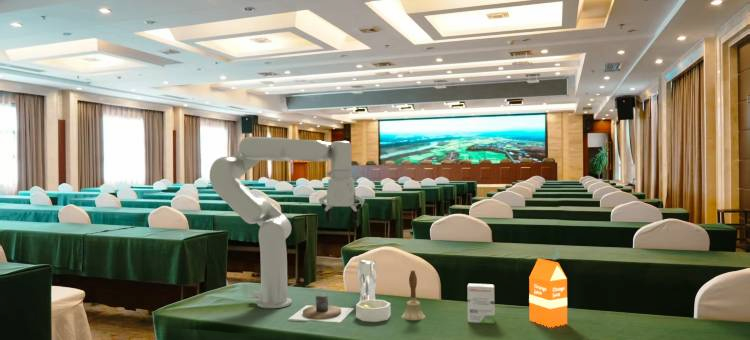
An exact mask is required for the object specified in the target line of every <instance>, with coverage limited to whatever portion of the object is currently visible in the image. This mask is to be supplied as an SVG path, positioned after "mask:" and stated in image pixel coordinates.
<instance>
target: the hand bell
mask: <svg viewBox="0 0 750 340" xmlns="http://www.w3.org/2000/svg"><path fill="white" fill-rule="evenodd" d="M408 283H409V287H410V300H408V301H407V302H406V306H405V307H406V308H405V310H404V312H403V314H402V315H401V318H402V319H404V320H408V321H420V320H424V319H425V318H426V315H425V314H424V313H423V311H422V307H421V302H420V301H418V300H417V295H416V294H417V293H416V291H417V290H416V289H417V285H418V284H417V283H418V278H417V274H416V271H415V270H410V274H409V278H408Z"/></svg>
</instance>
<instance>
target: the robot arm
mask: <svg viewBox="0 0 750 340" xmlns="http://www.w3.org/2000/svg"><path fill="white" fill-rule="evenodd" d="M260 161H271V162H272V161H273V162H274V161H275V162H287V161H294V162H295V161H296V162H298V161H299V162H301V161H302V162H316V163H317V162H322V163H323V162H329V161H330V171H328V172H327V176H328V177H330V178H329V179H328V182H327V188H326V189H327V191H326V195H323V196H322V197H321V198H319V199H318V202H319V203H320V205H321V207H322V209H324V211H325V219H326V223H330V222H332V221H333V216H332V215H333V212H332V210H331V209H332V208H333V207H350V208H351V209H352V217H351V218H352V219H351V220H352V223H357V221H358V219H359V211H360V209H361V208H362V207H363V205H364V203H365V201H366V199H365V198H364V197H362V196H360V195H358V194H356V186H355V180H354V178H352V176H353V175H352V168H353V167H352V144H351V142H350V141H347V140H342V141H341V140H337V141H336V140H335V141H333V142H332V141H331V142H330V141H322V140H315V139H313V140H312V139H295V138H293V139H292V138H287V137H273V136H272V137H267V136H266V137H265V136H247V137H244V138H242V139H241V140H240V142H239V144H238V151H237V152H235V153H234V154H233V155H231V156H221V157H219V158H216V159H215V160H214V162H213V163H212V164H211V167H210V169H209V183H210V185H211V187H212V189H213V190H214V192H215V193H216V195H218V196H219V197H220V198H221V199H222V200H223V201H224V202H225V203H226V204H227V205H228V206H229V207H230V208H231V209H232V210H233V211H234V212H235V213H236V214H237V215H238V216H239V217H240V218H241V219H242V220H243V221H244V222H245V223H247V224H249V225H252V224H253V225H254V224H257V225H258V226H259V230H258V242H259V243H258V244H259V250H260V291H252V293H251V298H252V299H258V300H257V301H256V306H257V307H259V308H262V309H281V308H285V307H288V306H290V305H292V303H293V300H292V298H290V297H289V296H288V258H287V257H288V256H287V255H288V253H287V251H288V250H287V244H286V243H287V242H286V239H288V237H289V236H290V235H291V233H292V224H291V221H290V220H289V219H288V217H287V216H285V214H283V213H282V212H281V211H280V210H279V209H278V208H277V207H276V206H275V205H274V204H272V203H271V201H269V200H267V198H264V197H261V196H254V194H252V193H251V192H250V191H249V190H247V189H246V188H245V187H244V186H243V185H242V184H240V183H239V182H238V181H237V179H239V178H241V177H243V176H244V175H245V174H246V173H248V171H250V170H251V169H253V167H255V166H256V165H257V164H258V163H259V162H260ZM325 201H326V203H325ZM357 201H359V203H358V204H357Z"/></svg>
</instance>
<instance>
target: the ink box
mask: <svg viewBox="0 0 750 340" xmlns="http://www.w3.org/2000/svg"><path fill="white" fill-rule="evenodd" d="M466 289H467V293H466V294H467V299H466V300H467V322H468V323H476V324H478V323H479V324H495V323H496V322H495V319H496V318H495V317H496V315H495V313H496V312H495V311H496V310H495V308H496V306H495V285H494V284H490V283H470V282H469V283H468V284H467V288H466Z"/></svg>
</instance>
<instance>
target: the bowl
mask: <svg viewBox="0 0 750 340" xmlns="http://www.w3.org/2000/svg"><path fill="white" fill-rule="evenodd" d="M363 305H368V306H369V307H370V308H365V307H362V306H363ZM391 309H392V308H391V302H388V301H387V300H384V299H376V300H373V299H370V300H364V301H360V300H359V302H357V303H356V304H355V318H356V319H358V320H360V321H362V322H369V323H370V322H371V323H372V322H373V323H376V322H382V321H388V320H389V319H390V317H391V315H392V314H391V313H392V312H391V311H392V310H391Z"/></svg>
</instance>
